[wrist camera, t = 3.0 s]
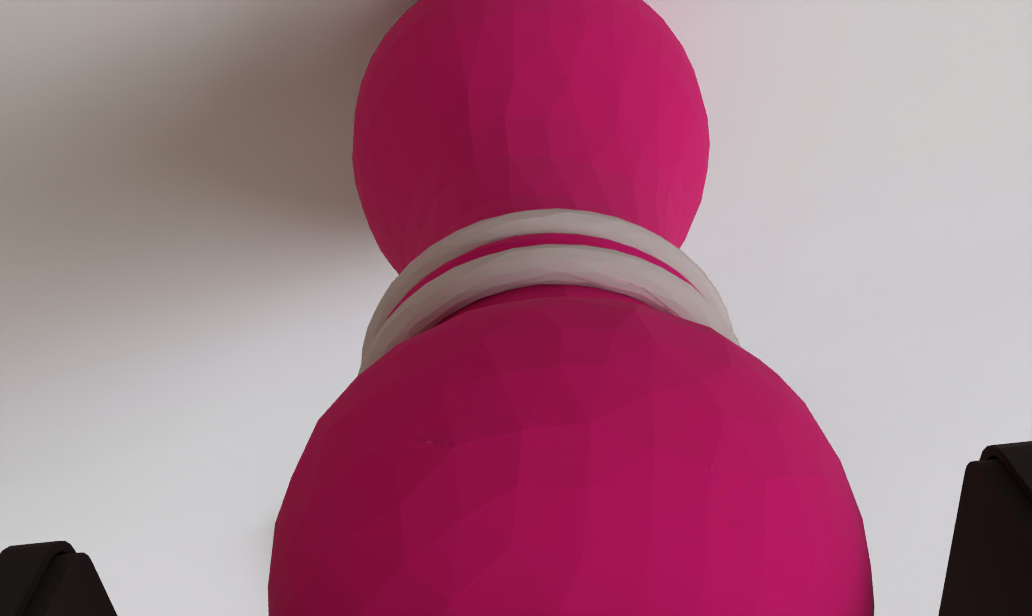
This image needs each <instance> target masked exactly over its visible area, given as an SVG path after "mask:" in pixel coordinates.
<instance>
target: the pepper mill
mask: <svg viewBox="0 0 1032 616" xmlns="http://www.w3.org/2000/svg"><path fill="white" fill-rule="evenodd" d="M709 146H710V142H709V130H708V118H707V114H706V111H705V107H704V103H703V100H702V96H701V92H700V89H699V85H698V82H697V79H696V75H695V72H694V69H693V67H692V65H691V63H690V61H689V59H688V57H687V55H686V53H685V50H684V48H683V46H682V45H681V43H680V42H679V41H678V39H677V38H676V36H675V35H674V34H673V32H672V31H671V30H670V28H669V27H668V25H667V24H666V23H665V21H664V20H663V19H662V18H661V17H660V16H659V15H658V14H657V13H656V12H655V11H654V10H653V9H652V8H651V7H650V6H649V5H647V4H646V3H645V2H644V1H643V0H419V1H418V2H417V3H416V4H415V5H413V6H412V7H411V8H410V9H409V10H407V11H406V12H405V13H404V14H403V15H402V17H401V18H400V19H399V20H398V21H397V22H396V23H395V25H394V26H393V27H392V28H391V29H390V30H389V32H388V33H387V34H386V35H385V37H384V38H383V40H382V42H381V43H380V45H379V46H378V48H377V50H376V51H375V53H374V55H373V56H372V58H371V60H370V62H369V65H368V67H367V70H366V72H365V75H364V78H363V80H362V83H361V86H360V91H359V95H358V100H357V105H356V110H355V120H354V137H353V156H352V159H353V167H354V175H355V183H356V187H357V190H358V194H359V197H360V200H361V204H362V207H363V210H364V213H365V216H366V218H367V221H368V224H369V227H370V229H371V231H372V233H373V235H374V237H375V239H376V242H377V244H378V246H379V248H380V250H381V251H382V253H383V254H384V256H385V257H386V258H387V260H388V261H389V263H390V264H391V265H392V267H393V268H394V269H395V270H396V271H397V272H398V274H399V276H398V277H397V278H396V279H395V280H394V281H393V282H392V283H391V285H390V286H389V288H388V289H387V291H386V293H385V294H384V296H383V297H382V299H381V301H380V303H379V305H378V306H377V308H376V310H375V312H374V315H373V317H372V319H371V321H370V324H369V326H368V328H367V332H366V336H365V340H364V344H363V348H362V361H361V367H360V370H359V373H358V376H357V377H356V379H355V380H354V381H353V382H352V383H351V384H350V385H349V386H348V388H347V389H346V390H345V391H344V392H343V393H342V394H341V395H340V397H339V398H338V399H337V400H336V401H335V402H334V403H333V404H332V405H331V407H330V408H329V409H328V410H327V411H326V412H325V413H324V414H323V416H322V417H321V418H320V419H319V420H318V422H317V424H316V426H315V428H314V430H313V432H312V434H311V437H310V439H309V441H308V443H307V445H306V447H305V449H304V452H303V454H302V456H301V458H300V460H299V462H298V464H297V467H296V469H295V471H294V473H293V475H292V477H291V480H290V483H289V486H288V489H287V491H286V494H285V497H284V500H283V503H282V506H281V509H280V511H279V514H278V517H277V520H276V523H275V530H274V539H273V547H272V556H271V565H270V574H269V582H268V607H269V616H874V597H873V585H872V574H871V564H870V559H869V553H868V547H867V542H866V536H865V531H864V525H863V519H862V517H861V514H860V511H859V509H858V506H857V503H856V501H855V498H854V495H853V493H852V490H851V488H850V485H849V482H848V480H847V477H846V474H845V472H844V469H843V466H842V464H841V461H840V459H839V458H838V456H837V455H836V453H835V451H834V450H833V448H832V446H831V445H830V443H829V442H828V440H827V438H826V437H825V435H824V433H823V432H822V430H821V429H820V427H819V425H818V424H817V422H816V421H815V419H814V417H813V416H812V414H811V412H810V411H809V409H808V408H807V406H806V404H805V403H804V402H803V401H802V399H801V398H800V397H799V396H798V395H797V394H796V393H795V392H794V391H793V390H792V389H791V388H790V387H789V386H788V385H787V384H786V383H785V382H784V381H783V379H782V378H781V377H780V376H779V375H778V374H777V373H775V372H774V371H773V370H772V369H770V368H769V367H768V366H767V365H766V364H764V363H763V362H762V361H761V360H759V359H758V358H756V357H755V356H753V355H752V354H750V353H749V352H747V351H746V350H744V349H743V348H741V346H740V344H739V341H738V339H737V337H736V336H735V334H734V333H733V328H732V325H731V321H730V318H729V315H728V312H727V309H726V307H725V305H724V303H723V301H722V299H721V297H720V295H719V293H718V291H717V290H716V288H715V286H714V285H713V284H712V282H711V281H710V280H709V278H708V277H707V276H706V274H705V273H704V272H703V270H702V269H701V268H700V267H699V266H698V265H697V264H695V263H694V262H693V261H692V260H691V259H690V258H689V257H688V256H687V255H686V254H685V253H683V252H682V251H681V250H680V249H679V248H680V247H681V245H682V244H683V242H684V241H685V238H686V236H687V234H688V231H689V229H690V226H691V224H692V222H693V219H694V217H695V215H696V212H697V210H698V207H699V205H700V203H701V199H702V194H703V189H704V184H705V179H706V174H707V168H708V157H709Z"/></svg>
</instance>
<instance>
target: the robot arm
mask: <svg viewBox="0 0 1032 616" xmlns="http://www.w3.org/2000/svg"><path fill="white" fill-rule="evenodd" d="M0 616H117V614H116V612H115V610H114V608H113V605H112V603H111V601H110V599H109V597H108V595H107V593H106V590H105V588H104V586H103V584H102V582H101V580H100V578H99V576H98V573H97V571H96V569H95V567H94V565H93V563H92V561H91V559H90V558H89V556H88V555H87V554H85V553H76V551H75V550H74V548H73V547H72V545H71V544H69V543H68V542H66V541H54V542H44V543H35V544H25V545H15V546H9V547H7V548H6V549H4V550H3V551H2V552H1V553H0ZM939 616H1032V441H1028V442H1019V443H1009V444H999V445H991V446H987V447H986V448H985V449H984V450H983V451H982V454H981V457H980V461H972V462H970V463H969V464H968V465H967V467H966V470H965V474H964V480H963V485H962V491H961V496H960V501H959V507H958V512H957V518H956V523H955V529H954V534H953V540H952V545H951V550H950V556H949V561H948V567H947V572H946V578H945V583H944V589H943V594H942V599H941V605H940V610H939Z"/></svg>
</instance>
